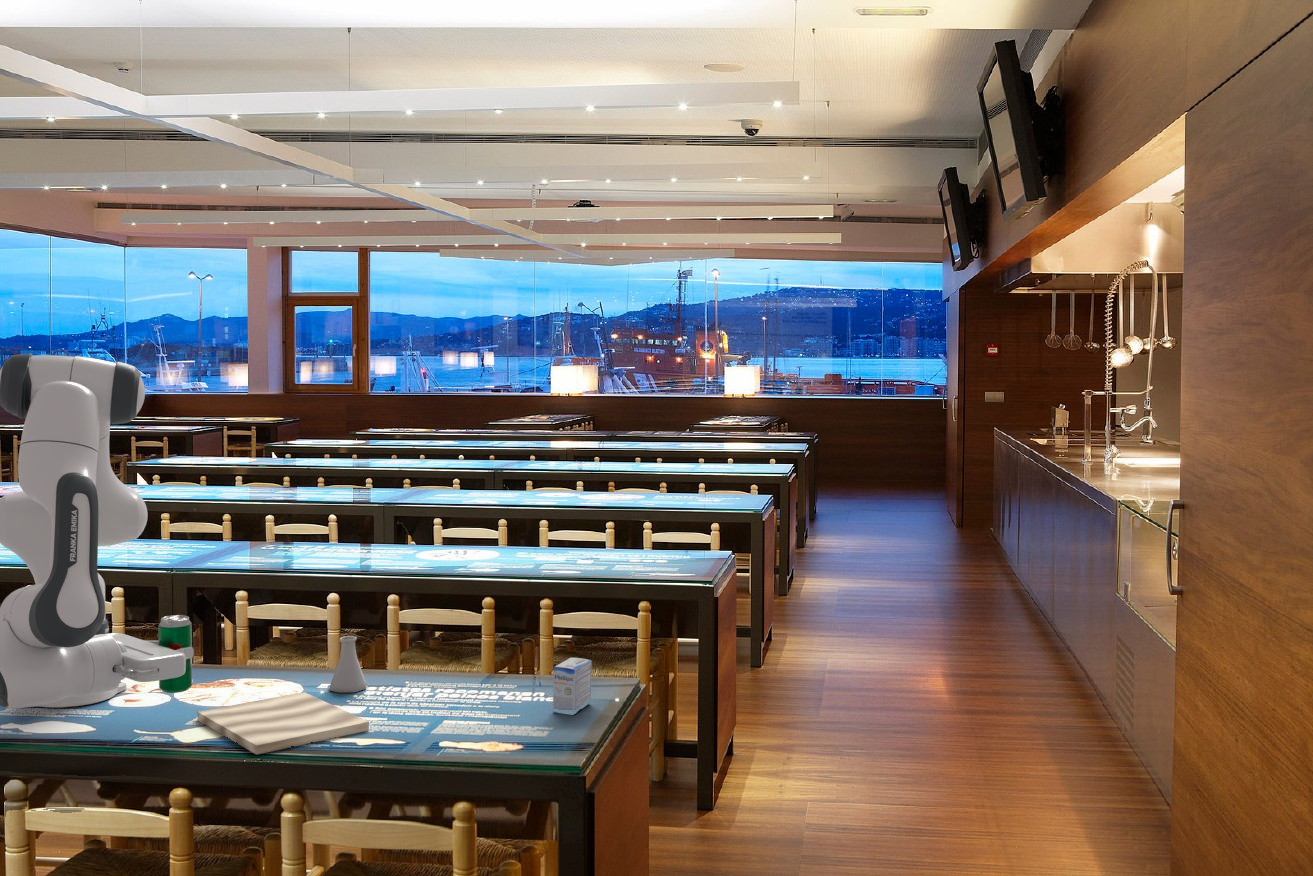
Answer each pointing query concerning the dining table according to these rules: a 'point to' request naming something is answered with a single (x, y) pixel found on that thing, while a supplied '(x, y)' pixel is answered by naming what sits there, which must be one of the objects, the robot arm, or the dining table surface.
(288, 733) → the birch board
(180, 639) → the soda can
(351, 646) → the flask
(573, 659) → the medicine box
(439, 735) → the dining table surface
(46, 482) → the robot arm
